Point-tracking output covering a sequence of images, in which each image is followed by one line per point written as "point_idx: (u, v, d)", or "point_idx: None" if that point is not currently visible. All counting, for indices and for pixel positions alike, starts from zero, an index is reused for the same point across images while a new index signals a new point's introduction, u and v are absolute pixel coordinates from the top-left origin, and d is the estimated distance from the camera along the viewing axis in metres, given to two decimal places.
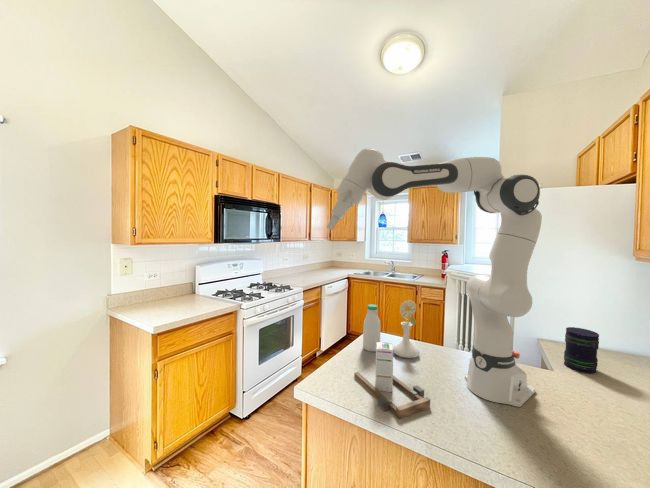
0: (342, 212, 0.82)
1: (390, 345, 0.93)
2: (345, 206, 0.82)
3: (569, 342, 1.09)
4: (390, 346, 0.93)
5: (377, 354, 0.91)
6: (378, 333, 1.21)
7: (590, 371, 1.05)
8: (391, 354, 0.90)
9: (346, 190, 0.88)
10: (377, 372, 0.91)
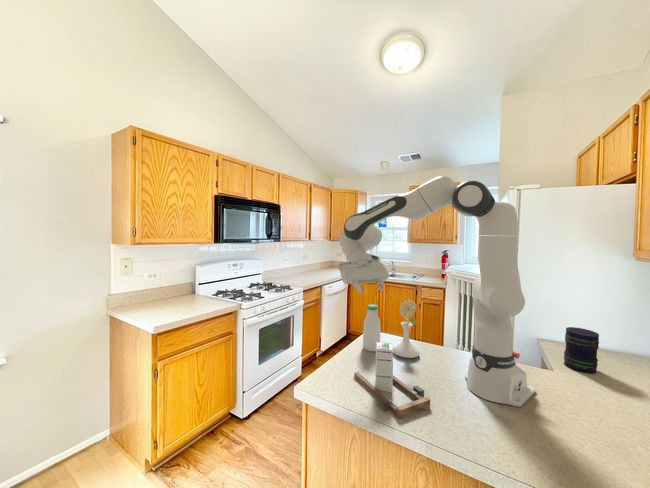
0: (345, 276, 1.01)
1: (390, 345, 0.93)
2: (343, 272, 1.03)
3: (569, 342, 1.09)
4: (390, 346, 0.93)
5: (377, 354, 0.91)
6: (378, 333, 1.21)
7: (590, 371, 1.05)
8: (391, 354, 0.90)
9: None
10: (377, 372, 0.91)
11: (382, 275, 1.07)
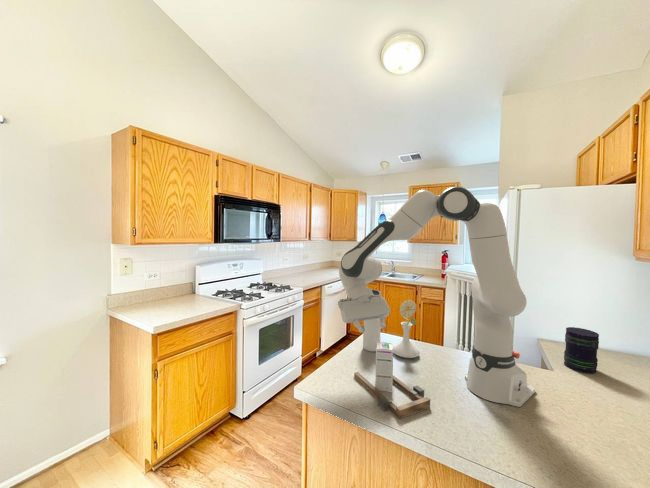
0: (345, 315, 0.98)
1: (390, 345, 0.93)
2: (343, 310, 0.99)
3: (569, 342, 1.09)
4: (390, 346, 0.93)
5: (377, 354, 0.91)
6: (378, 333, 1.21)
7: (590, 371, 1.05)
8: (391, 354, 0.90)
9: None
10: (377, 372, 0.91)
11: (383, 312, 1.04)
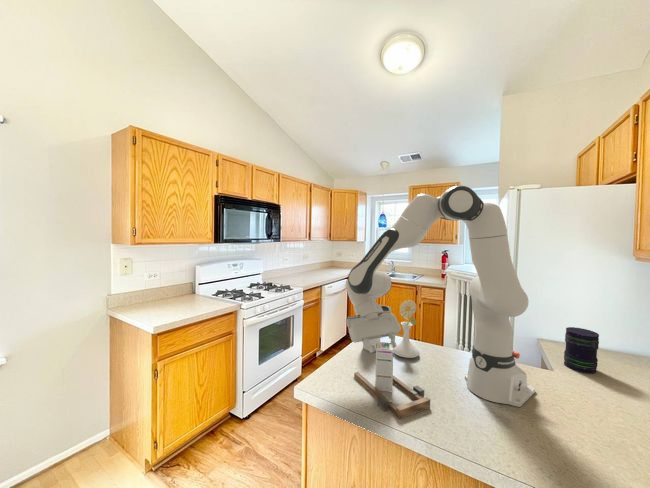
0: (354, 334, 0.92)
1: (390, 345, 0.93)
2: (352, 329, 0.94)
3: (569, 342, 1.09)
4: (390, 346, 0.93)
5: (377, 354, 0.91)
6: None
7: (590, 371, 1.05)
8: (391, 354, 0.90)
9: None
10: (377, 372, 0.91)
11: (394, 330, 0.98)
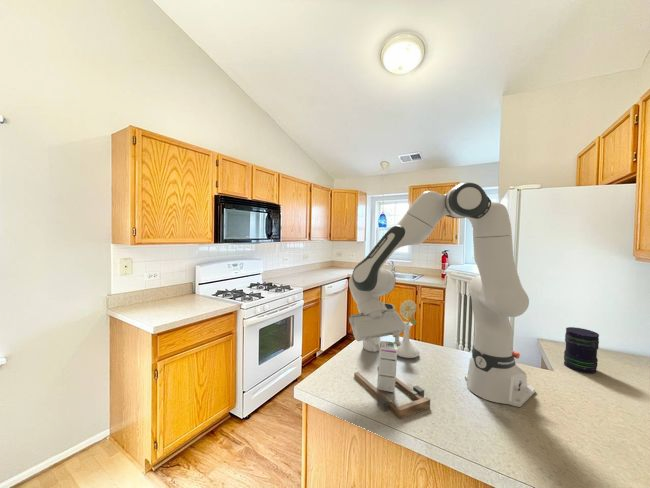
0: (357, 333, 0.90)
1: (394, 345, 0.92)
2: (355, 327, 0.92)
3: (569, 342, 1.09)
4: (394, 345, 0.91)
5: (381, 353, 0.89)
6: None
7: (590, 371, 1.05)
8: (395, 354, 0.88)
9: None
10: (380, 371, 0.89)
11: (398, 328, 0.96)
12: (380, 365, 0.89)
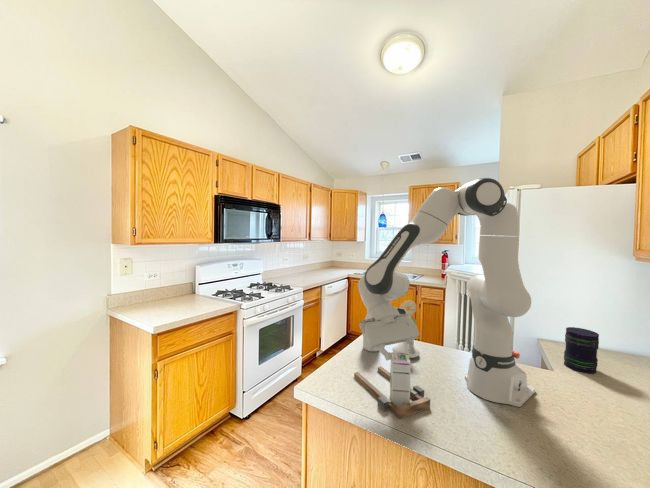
0: (369, 340, 0.84)
1: (406, 356, 0.85)
2: (367, 334, 0.85)
3: (569, 342, 1.09)
4: (407, 357, 0.85)
5: (393, 366, 0.83)
6: None
7: (590, 371, 1.05)
8: (409, 366, 0.82)
9: None
10: (393, 386, 0.83)
11: (412, 335, 0.90)
12: (393, 379, 0.83)
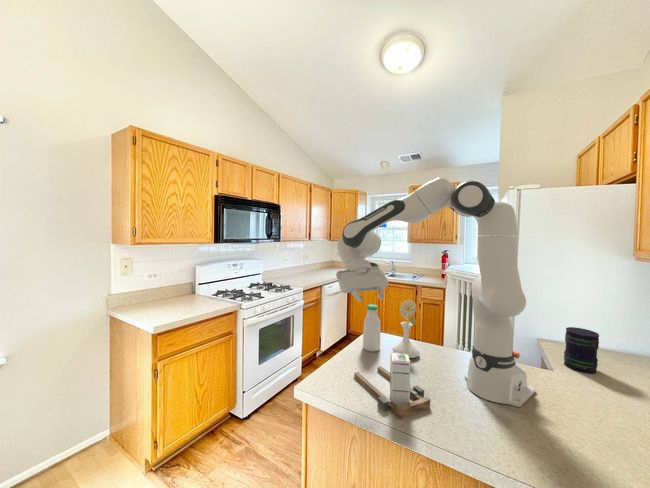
0: (343, 285, 0.98)
1: (406, 356, 0.85)
2: (341, 280, 1.00)
3: (569, 342, 1.09)
4: (406, 357, 0.85)
5: (393, 366, 0.83)
6: (378, 333, 1.21)
7: (590, 371, 1.05)
8: (408, 366, 0.82)
9: None
10: (393, 386, 0.83)
11: (381, 283, 1.04)
12: (392, 379, 0.83)
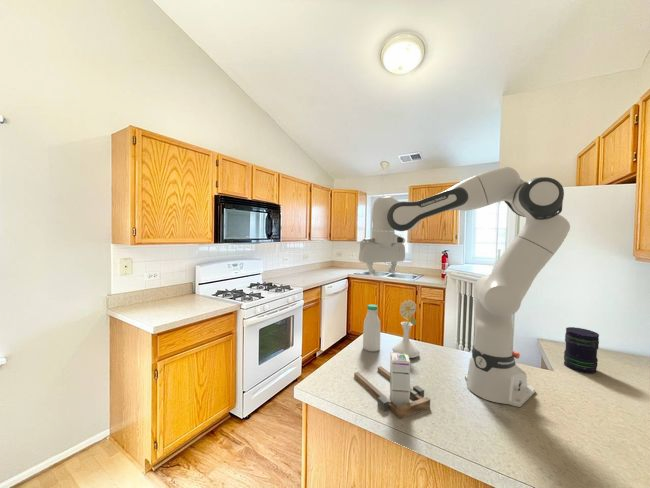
0: (363, 258, 1.01)
1: (406, 356, 0.85)
2: (363, 253, 1.01)
3: (569, 342, 1.09)
4: (406, 357, 0.85)
5: (393, 366, 0.83)
6: (378, 333, 1.21)
7: (590, 371, 1.05)
8: (408, 366, 0.82)
9: (372, 239, 1.06)
10: (393, 386, 0.83)
11: (397, 260, 1.08)
12: (392, 379, 0.83)
